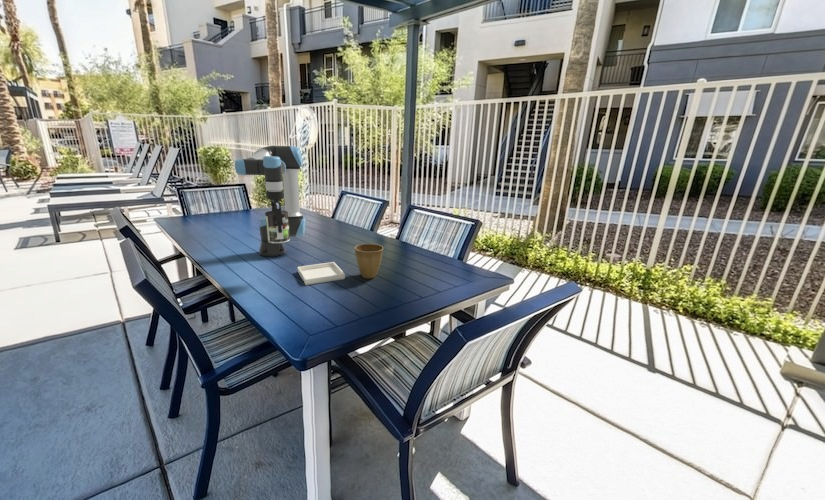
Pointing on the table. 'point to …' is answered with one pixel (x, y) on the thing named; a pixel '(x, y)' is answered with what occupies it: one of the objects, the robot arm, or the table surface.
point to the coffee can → (272, 228)
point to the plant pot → (368, 259)
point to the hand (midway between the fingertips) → (278, 236)
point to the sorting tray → (320, 273)
